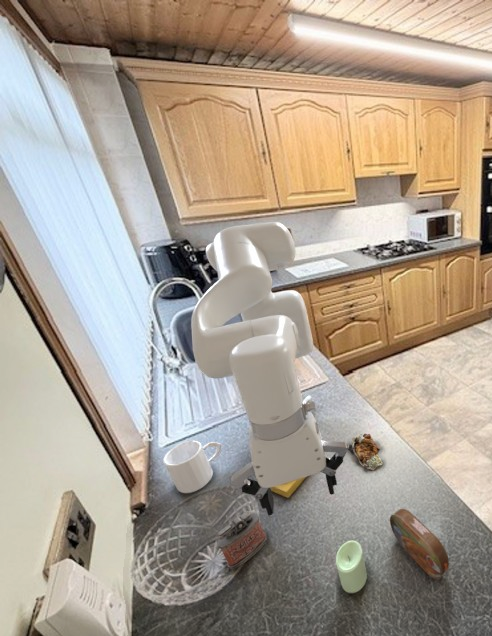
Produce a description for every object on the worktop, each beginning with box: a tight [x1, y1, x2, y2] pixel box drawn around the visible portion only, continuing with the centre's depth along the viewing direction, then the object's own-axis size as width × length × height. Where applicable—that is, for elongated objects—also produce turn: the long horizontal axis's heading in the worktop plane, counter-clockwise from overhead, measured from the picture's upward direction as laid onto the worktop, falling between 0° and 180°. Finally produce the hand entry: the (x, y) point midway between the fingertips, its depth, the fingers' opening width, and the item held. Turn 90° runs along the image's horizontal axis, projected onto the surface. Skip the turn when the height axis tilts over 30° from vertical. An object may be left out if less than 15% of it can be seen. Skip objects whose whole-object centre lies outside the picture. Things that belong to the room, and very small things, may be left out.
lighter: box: [216, 510, 268, 570], centre depth 71 cm, size 8×3×10 cm, turn 141°
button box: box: [255, 477, 307, 499], centre depth 90 cm, size 10×10×4 cm
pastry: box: [347, 433, 384, 470], centre depth 95 cm, size 7×12×4 cm, turn 39°
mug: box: [162, 440, 222, 494], centre depth 89 cm, size 8×12×10 cm
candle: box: [335, 540, 368, 594], centre depth 66 cm, size 5×5×8 cm
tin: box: [389, 508, 450, 580], centre depth 70 cm, size 15×3×8 cm, turn 45°
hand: (302, 497), depth 58 cm, fingers open, 9 cm apart
